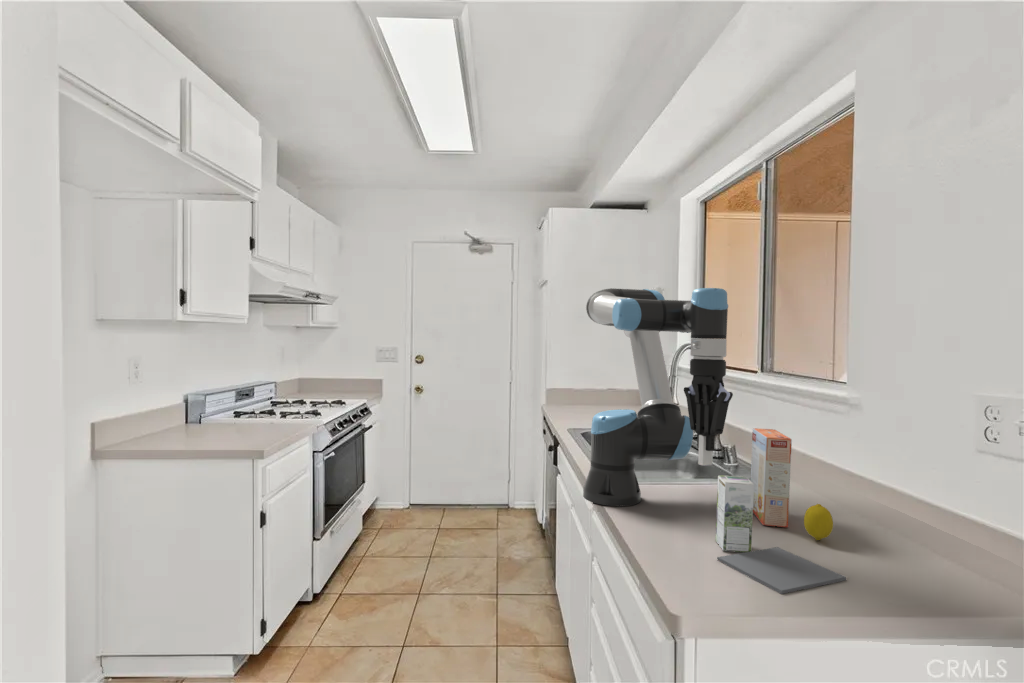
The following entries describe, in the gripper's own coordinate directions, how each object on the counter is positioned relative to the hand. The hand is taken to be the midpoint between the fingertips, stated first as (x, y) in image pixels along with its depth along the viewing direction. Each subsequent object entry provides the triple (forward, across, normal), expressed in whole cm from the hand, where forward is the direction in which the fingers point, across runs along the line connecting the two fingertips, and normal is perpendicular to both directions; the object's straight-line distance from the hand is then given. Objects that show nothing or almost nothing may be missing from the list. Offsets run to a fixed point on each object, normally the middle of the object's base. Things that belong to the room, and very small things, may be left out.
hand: (705, 464), depth 123 cm
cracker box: (+16, -4, +23) cm, 28 cm away
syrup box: (+16, +8, 0) cm, 18 cm away
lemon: (+16, +12, +21) cm, 29 cm away
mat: (+16, +20, 0) cm, 25 cm away
